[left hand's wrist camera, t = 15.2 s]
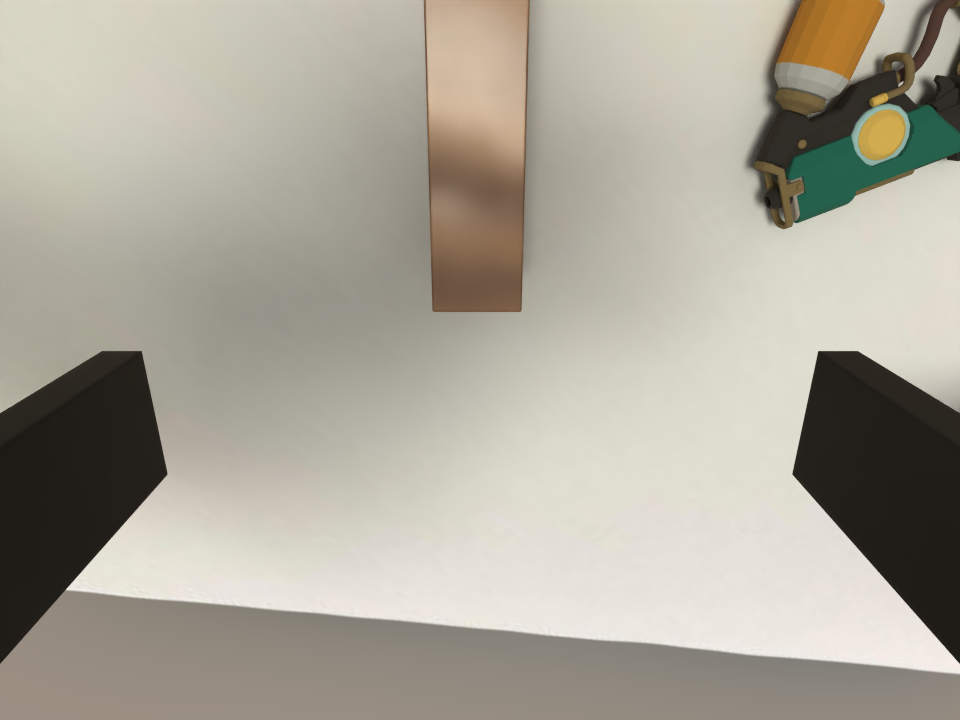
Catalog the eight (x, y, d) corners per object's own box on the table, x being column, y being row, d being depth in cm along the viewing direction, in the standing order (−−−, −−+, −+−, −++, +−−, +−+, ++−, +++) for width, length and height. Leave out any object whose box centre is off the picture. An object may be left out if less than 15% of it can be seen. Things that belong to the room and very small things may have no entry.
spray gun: (1036, -62, 36) (978, 200, 42) (755, -36, 36) (736, 225, 41) (1110, -82, 32) (1033, 210, 38) (795, -53, 32) (767, 238, 38)
